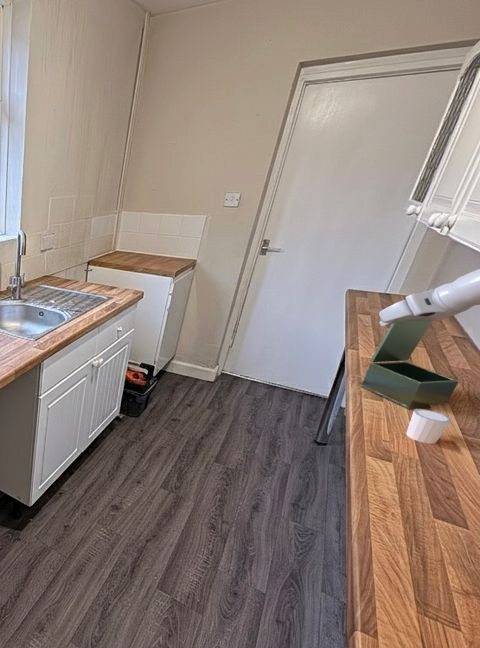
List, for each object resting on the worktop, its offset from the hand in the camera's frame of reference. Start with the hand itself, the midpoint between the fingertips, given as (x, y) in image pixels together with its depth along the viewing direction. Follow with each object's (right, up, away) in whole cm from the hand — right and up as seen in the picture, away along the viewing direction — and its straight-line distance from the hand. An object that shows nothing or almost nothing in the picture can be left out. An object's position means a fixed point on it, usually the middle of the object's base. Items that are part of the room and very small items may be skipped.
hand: (392, 323), depth 132 cm
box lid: (0, -5, -3) cm, 6 cm away
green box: (+1, -23, -2) cm, 23 cm away
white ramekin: (-15, -32, -22) cm, 42 cm away
